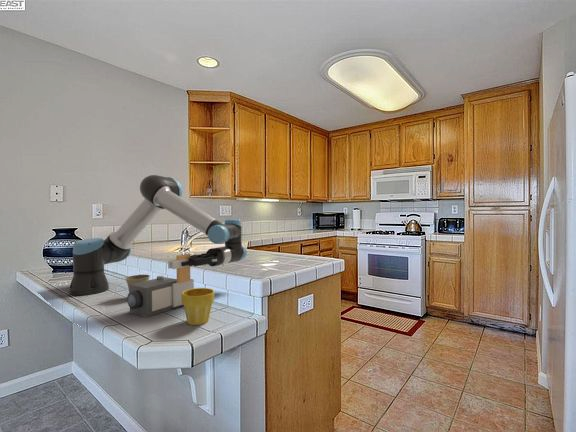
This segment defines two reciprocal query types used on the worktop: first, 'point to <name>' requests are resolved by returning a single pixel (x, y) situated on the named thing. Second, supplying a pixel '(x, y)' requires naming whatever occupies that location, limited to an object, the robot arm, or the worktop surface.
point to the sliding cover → (181, 281)
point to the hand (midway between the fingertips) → (170, 265)
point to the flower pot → (136, 279)
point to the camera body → (151, 296)
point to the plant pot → (197, 304)
